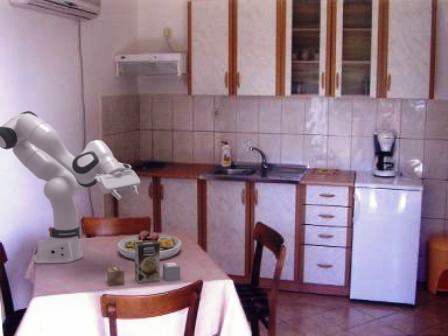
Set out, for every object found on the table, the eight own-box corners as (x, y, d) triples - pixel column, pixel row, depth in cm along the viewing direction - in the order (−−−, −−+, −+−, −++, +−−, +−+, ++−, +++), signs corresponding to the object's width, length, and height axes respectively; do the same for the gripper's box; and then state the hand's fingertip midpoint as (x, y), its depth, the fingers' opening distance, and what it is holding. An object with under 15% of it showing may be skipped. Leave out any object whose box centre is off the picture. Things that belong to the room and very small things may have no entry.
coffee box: (138, 283, 237) (138, 245, 235) (134, 278, 243) (134, 241, 240) (160, 280, 241) (159, 243, 238) (155, 276, 247) (155, 239, 244)
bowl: (189, 258, 271) (189, 242, 269) (125, 266, 260) (125, 249, 259) (171, 241, 298) (170, 226, 297) (112, 247, 287) (112, 232, 286)
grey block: (166, 281, 240) (165, 267, 239) (162, 276, 246) (162, 262, 245) (180, 280, 242) (180, 265, 241) (176, 275, 248) (176, 261, 247)
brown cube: (109, 286, 234) (109, 271, 233) (107, 281, 240) (107, 267, 239) (124, 285, 236) (124, 270, 235) (122, 280, 242) (121, 265, 241)
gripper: (96, 170, 239) (113, 196, 235) (132, 164, 255) (149, 188, 251) (89, 179, 242) (106, 205, 238) (125, 173, 258) (141, 197, 254)
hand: (128, 197), depth 245 cm, fingers open, 8 cm apart
